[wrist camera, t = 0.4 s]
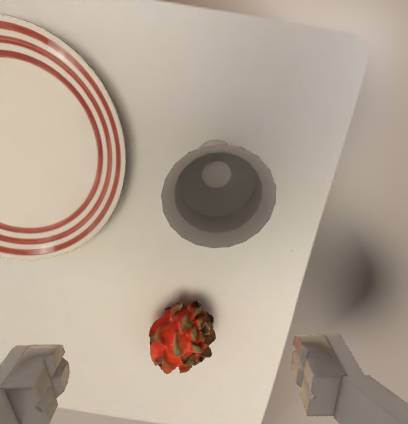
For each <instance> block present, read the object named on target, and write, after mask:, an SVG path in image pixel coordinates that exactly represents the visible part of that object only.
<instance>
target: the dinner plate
mask: <svg viewBox="0 0 408 424" xmlns="http://www.w3.org/2000/svg"><path fill="white" fill-rule="evenodd" d="M125 167H126V153H125V142H124V136H123V131H122V127H121V123H120V120H119V117H118V113H117V111H116V108H115V106H114V104H113V102H112V99H111V97H110V96H109V94H108V92H107V90H106V88H105V87H104V85H103V83H102V82H101V80H100V79H99V77H98V76H97V75H96V73H95V72H94V71H93V70H92V69H91V67H90V66H89V65H88V64H87V63H86V62H85V60H84V59H83V58H82V57H81V56H80V55H79V54H78V53H76V52H75V51H74V50H73V49H72V48H71V47H70V46H68V45H67V44H66V43H65V42H63V41H62V40H61V39H59V38H58V37H56V36H55V35H53V34H52V33H50V32H48V31H47V30H45V29H43V28H41V27H39V26H37V25H35V24H32V23H30V22H28V21H25V20H23V19H19V18H16V17H12V16H8V15H3V14H0V257H3V258H8V259H17V260H39V259H46V258H52V257H56V256H59V255H62V254H65V253H68V252H70V251H72V250H74V249H76V248H78V247H80V246H81V245H83V244H84V243H86V242H87V241H88V240H90V239H91V238H92V237H93V236H94V235H95V234H97V233H98V232H99V231H100V229H101V228H102V227H103V226H104V225H105V223H106V222H107V220H108V219H109V218H110V216H111V214H112V213H113V211H114V209H115V207H116V205H117V202H118V200H119V197H120V194H121V191H122V187H123V182H124V176H125Z"/></svg>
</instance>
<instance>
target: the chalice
mask: <svg viewBox="0 0 408 424" xmlns="http://www.w3.org/2000/svg"><path fill="white" fill-rule="evenodd" d="M161 196H162V205H163V212H164V214H165V216H166V218H167V220H168V222H169V224H170V226H171V227H172V228H173V229H174V230H175V231H176V232H177V233H178V234H179V235H180V236H181V237H182V238H184V239H186V240H188V241H190V242H192V243H194V244H196V245H199V246H205V247H210V248H221V247H231V246H233V245H236V244H239V243H242V242H245V241H247V240H248V239H249V238H251V237H252V236H254V235H255V234H257V233H258V232H259V231H260V230H261V229H262V228H263V226H264V225H265V224H266V223H267V221H268V220H269V219H270V217H271V214H272V211H273V209H274V206H275V203H276V185H275V183H274V180H273V177H272V174H271V172H270V170H269V168H268V167H267V166H266V165H265V164H264V163H263V161H262V160H261V159H260V158H259V157H258V156H256V155H255V154H253V153H251V152H249V151H247V150H246V149H244V148H242V147H237V146H232V145H228V144H227V143H225V142H224V141H220V140H211V141H208V142H206V143H204V144H203V145H202V146H201V147H200V148H199V149H197V150H194V151H192V152H189V153H188V154H187V155H185V156H184V157H183V158H182V159H180V160H179V161H178V162H177V163H176V164H175V165H174V166H173V168H172V169H171V171H170V172H169V174H168V175H167V177H166V178H165V182H164V186H163V190H162V194H161Z"/></svg>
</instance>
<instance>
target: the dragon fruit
mask: <svg viewBox="0 0 408 424" xmlns="http://www.w3.org/2000/svg"><path fill="white" fill-rule="evenodd" d="M183 306H184V303H182V302H180V303H176V304H175V305H174V307H173V308H172V309H169V308H170V307H169V308H166V309H165V314H164V316H163V317H161V318H160V319H158V320H157V321H156V322H154V323H153V325H152V327H151V329H150V332H149V337H150V350H151V351H150V355H151V358H152V361H153V362H154V364H155V366H156V365H159V366H160V367H161V369H162V370H163V372H164V373H166V374H168V373H170V372H171V371H172V370H174V369H175V368H176V367H177V366H179V370H180V373H184V372H187V371H189V369H190V368H191V367H192V366H191V365H194V366H195V365H197V364H199V363H200V362H202V361H203V360H204V359H205V358H206V357H211V355H212V353H211V349H210V348H209V345H210V344H211V343H212V342H213V341H214V340H215V339H216V337H215V332H214V330H213V326H212V323H213V320H214V319H213V317H212V315H210V314H209V313H208V312H204V311H203V310H202V309H200V306H201V304H200V303H199V302H198V301H197V300H196V301H193V302H191V303H189V304H188V305H187V307H186V308H184V307H183ZM198 307H199V308H198ZM195 362H196V363H195Z"/></svg>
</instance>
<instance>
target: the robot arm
mask: <svg viewBox="0 0 408 424" xmlns="http://www.w3.org/2000/svg"><path fill="white" fill-rule="evenodd" d="M293 345H294V347H295V351H294V352H293V353H292V370H293V374H294V378H295V381H296V383H297V384H298V385H299V386H300V387H301V394H300V396H301V399H302V402H303V405H304V408H305V410H306V414H307V416H334V418H335V419H336V420H337V421H338V422H339V424H408V403H406V402H405V401H404V400H402V399H401V398H399V397H398V396H397V395H395V394H394V393H393V392H391V391H390V390H389V389H387V388H386V387H384V386H383V385H382V384H380V383H379V382H378V381H376V380H375V379H373V378H372V377H371V376H369V375H364V374H363V372H362V370H361V368H360V367H359V365H358V363H357V362H356V360H355V358H354V357H353V355H352V353H351V352H350V350H349V348H348V347H347V345H346V343H345V341H344V340H343V338H342V336H340V335H339V334H324V335H323V334H318V335H298V336H295V337H294V341H293ZM64 353H65V351H64V348H63V345H17V346H16V347H14V348H13V349H12V350H11V351H10V352H9V354H8V355H7V357H6V358H5V359H4V361H3V362H2V363H1V365H0V424H49V423H50V421H51V419H52V417H53V414H54V412H55V410H56V408H57V406H58V403H57V399H56V398H57V397H58V396H59V395H60V394H62V393H63V392H64V390H65V388H66V385H67V383H68V378H69V364H68V361H66V360H65V359H64V358H63V355H64Z"/></svg>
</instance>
